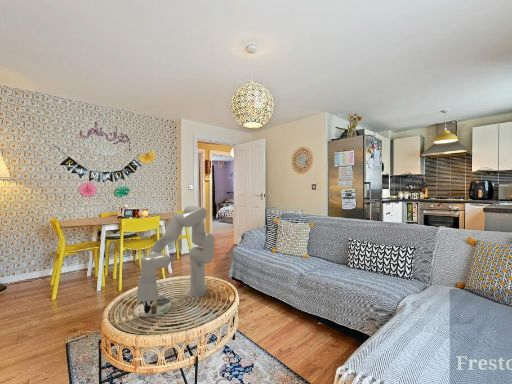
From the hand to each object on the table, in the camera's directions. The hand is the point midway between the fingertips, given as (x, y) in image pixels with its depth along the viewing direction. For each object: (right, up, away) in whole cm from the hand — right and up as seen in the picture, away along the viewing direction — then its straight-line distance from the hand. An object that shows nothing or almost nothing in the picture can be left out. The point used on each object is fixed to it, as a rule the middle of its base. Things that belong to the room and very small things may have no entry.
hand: (147, 311), depth 136 cm
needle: (+2, -1, +4) cm, 5 cm away
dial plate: (0, -3, +8) cm, 8 cm away
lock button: (+3, 0, +14) cm, 14 cm away
